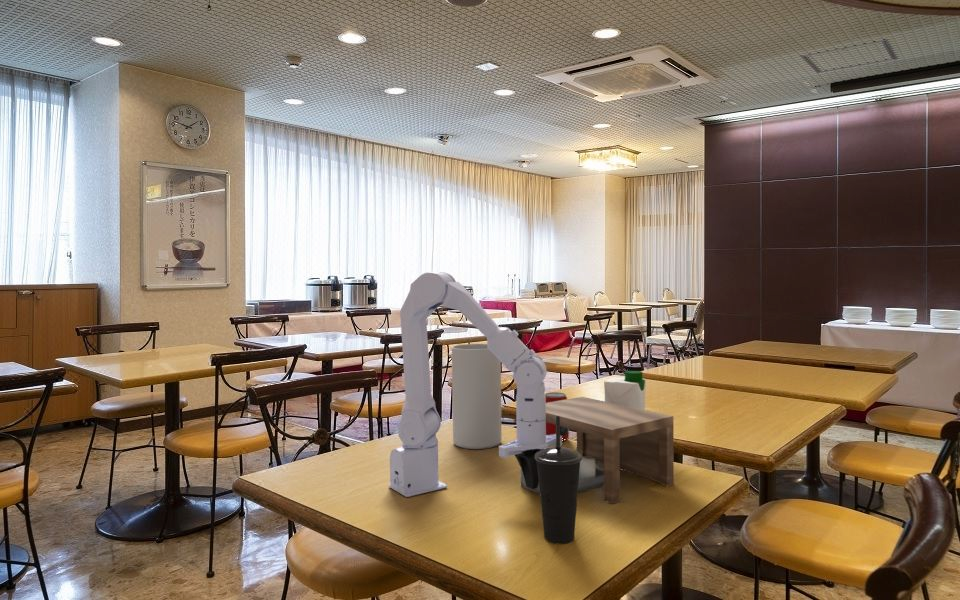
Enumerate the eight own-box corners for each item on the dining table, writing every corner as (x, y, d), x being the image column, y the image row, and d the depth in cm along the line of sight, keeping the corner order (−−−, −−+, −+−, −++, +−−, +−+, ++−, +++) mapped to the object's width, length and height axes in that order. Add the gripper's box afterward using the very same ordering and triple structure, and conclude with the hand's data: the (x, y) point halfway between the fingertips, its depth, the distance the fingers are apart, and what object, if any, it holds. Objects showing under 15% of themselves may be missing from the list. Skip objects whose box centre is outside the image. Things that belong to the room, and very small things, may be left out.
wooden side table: (612, 503, 115) (611, 429, 115) (524, 469, 136) (523, 406, 136) (673, 484, 125) (673, 416, 125) (582, 454, 147) (582, 396, 146)
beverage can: (570, 443, 157) (570, 396, 157) (543, 443, 157) (543, 396, 157) (567, 436, 164) (566, 391, 163) (541, 436, 164) (541, 391, 163)
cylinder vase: (480, 434, 167) (479, 342, 166) (511, 443, 158) (510, 346, 157) (443, 442, 159) (441, 346, 158) (473, 453, 150) (472, 350, 149)
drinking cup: (551, 524, 106) (550, 409, 105) (591, 535, 101) (590, 415, 100) (526, 539, 100) (525, 417, 99) (566, 552, 95) (565, 424, 95)
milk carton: (638, 462, 140) (638, 375, 140) (600, 456, 145) (599, 372, 144) (649, 452, 148) (648, 370, 147) (612, 447, 153) (612, 367, 152)
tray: (553, 500, 117) (553, 473, 117) (520, 485, 126) (520, 460, 125) (612, 483, 127) (611, 458, 126) (577, 470, 135) (577, 447, 135)
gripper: (514, 428, 113) (515, 501, 113) (572, 416, 121) (573, 485, 122) (491, 421, 119) (492, 490, 119) (548, 410, 127) (549, 475, 127)
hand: (531, 487), depth 121 cm, fingers closed
